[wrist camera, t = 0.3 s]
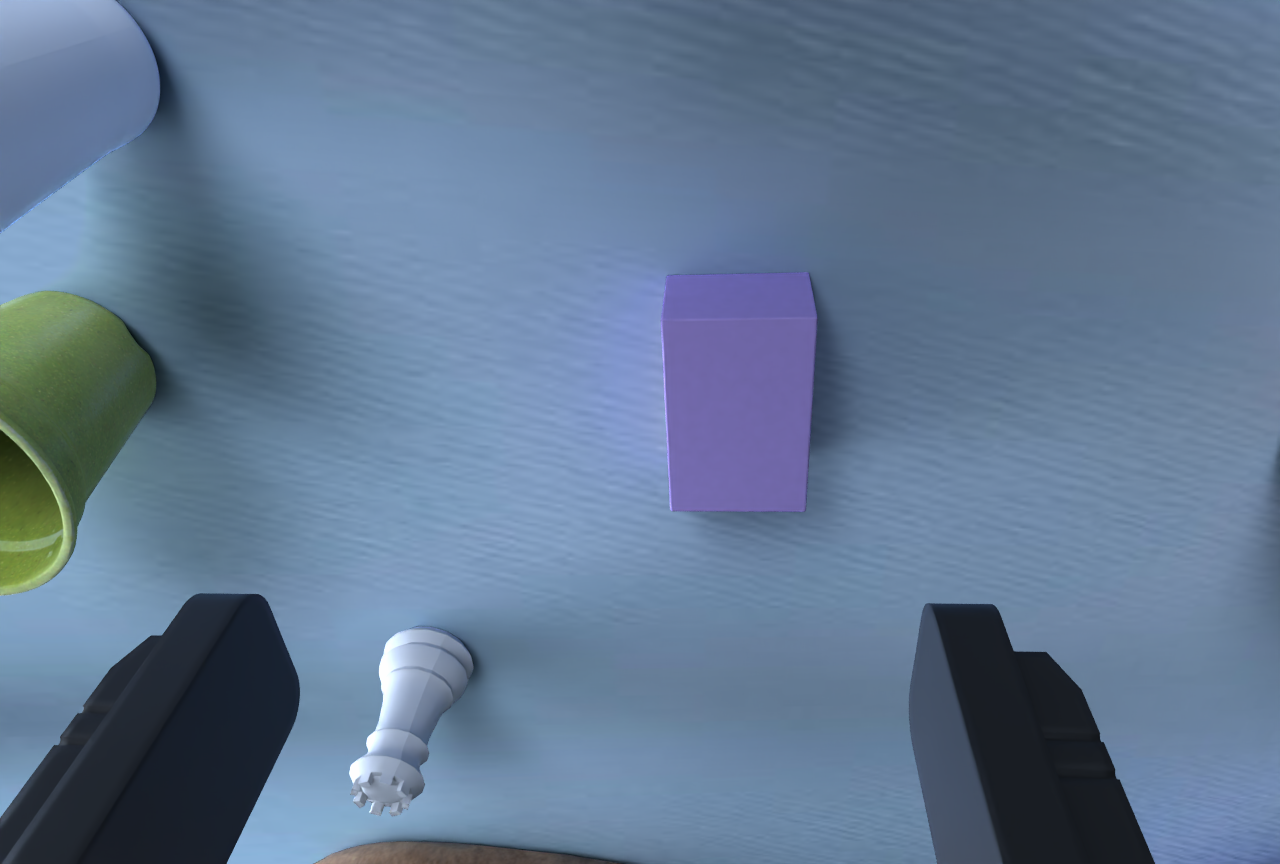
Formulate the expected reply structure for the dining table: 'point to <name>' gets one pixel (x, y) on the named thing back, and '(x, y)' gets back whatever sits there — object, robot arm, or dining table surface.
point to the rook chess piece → (409, 715)
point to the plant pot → (60, 423)
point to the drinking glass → (67, 93)
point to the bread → (447, 855)
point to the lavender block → (738, 390)
